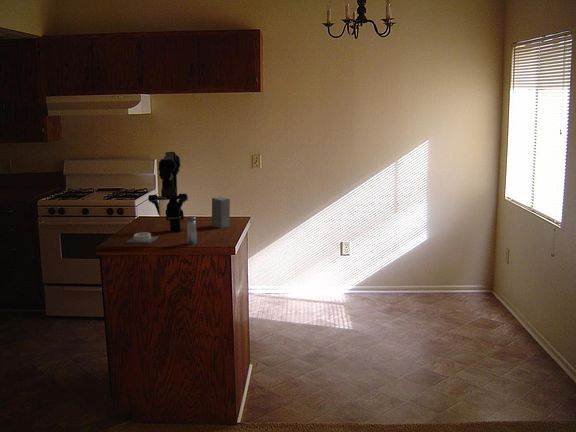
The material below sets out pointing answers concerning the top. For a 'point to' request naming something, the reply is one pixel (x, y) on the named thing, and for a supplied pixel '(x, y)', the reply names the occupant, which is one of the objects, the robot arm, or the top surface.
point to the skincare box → (220, 212)
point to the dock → (142, 238)
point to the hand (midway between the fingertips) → (168, 215)
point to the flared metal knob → (191, 230)
